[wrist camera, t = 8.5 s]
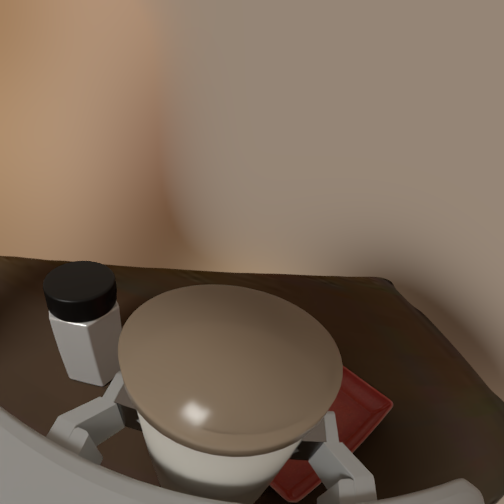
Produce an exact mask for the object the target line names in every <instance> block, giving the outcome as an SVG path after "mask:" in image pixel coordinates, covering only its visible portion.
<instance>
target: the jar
mask: <svg viewBox="0 0 504 504" xmlns="http://www.w3.org/2000/svg"><path fill="white" fill-rule="evenodd" d="M43 290H44V294H45V298H46V303H47V307H48V309H49V319H50V323H51V326H52V330H53V333H54V336H55V339H56V342H57V345H58V348H59V351H60V354H61V357H62V360H63V362H64V365H65V368H66V370H67V373H68V375H69V378H71V379H74V380H78V381H81V382H85V383H89V384H93V385H98V386H102V387H103V386H105V385H106V384H107V383H108V382H109V381H111V380H112V379H113V378H114V377H115V375H116V373H118V372H119V371H120V372H121V369H120V365H119V360H118V343H119V337H120V334H121V331H122V326H121V319H120V310H119V305H118V303H117V300H116V299H117V296H116V293H117V288H116V281H115V276H114V273H113V272H112V270H111V269H110V268H108V267H107V266H105V265H103V264H100V263H97V262H91V261H76V262H70V263H66V264H63V265H61V266H59V267H57V268H55V269H53V270H52V271H51V272H49V273H48V275H47V276H46V277H45V279H44V282H43Z"/></svg>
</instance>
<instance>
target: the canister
mask: <svg viewBox="0 0 504 504" xmlns="http://www.w3.org/2000/svg"><path fill="white" fill-rule="evenodd" d="M118 360H119V365H120V369H121V374H122V378H123V382H124V386H125V390H126V392H127V394H128V396H129V398H130V401H131V402H132V404H133V405H134V407H135V408H136V410H137V413H138V417H139V420H140V424H141V428H142V431H143V435H144V438H145V441H146V445H147V448H148V451H149V454H150V457H151V460H152V463H153V466H154V469H155V472H156V475H157V477H158V480H159V482H160V485H161V487H162V488H165V489H168V490H172V491H176V492H180V493H184V494H188V495H193V496H198V497H202V498H208V499H213V500H219V501H226V502H233V503H241V504H253V503H254V502H255V501H256V500H257V499H258V498H259V497H260V496H261V495H262V493H263V492H264V491H265V490H266V488H267V487H268V486H269V484H270V483H271V482H272V481H273V479H274V478H275V477H276V475H277V474H278V473H279V471H280V470H281V469H282V467H283V466H284V464H285V463H286V462H287V460H288V459H289V457H290V456H291V455H292V453H293V452H294V450H295V449H296V447H297V446H298V444H299V443H300V441H301V440H302V438H304V437H305V436H306V435H308V434H309V433H310V432H311V431H312V430H313V429H314V428H315V427H316V426H317V425H318V424H319V423H320V422H321V420H322V419H323V417H324V416H325V415H326V413H327V411H328V410H329V408H330V407H331V405H332V403H333V402H334V400H335V398H336V396H337V394H338V392H339V389H340V387H341V382H342V378H343V365H342V359H341V355H340V352H339V349H338V347H337V345H336V343H335V341H334V339H333V338H332V337H331V335H330V334H329V332H328V331H327V330H326V329H325V328H324V327H323V326H322V325H321V324H320V323H319V322H318V321H317V320H316V319H315V318H314V317H312V316H311V315H310V314H308V313H307V312H306V311H304V310H303V309H301V308H299V307H298V306H296V305H294V304H292V303H290V302H288V301H286V300H284V299H282V298H279V297H277V296H274V295H271V294H268V293H265V292H262V291H258V290H255V289H250V288H245V287H239V286H231V285H211V284H210V285H195V286H188V287H183V288H178V289H174V290H171V291H168V292H165V293H162V294H160V295H158V296H156V297H154V298H152V299H150V300H148V301H147V302H145V303H144V304H142V305H141V306H140V307H139V308H137V309H136V310H135V311H134V312H133V313H132V315H131V316H130V317H129V318H128V319H127V321H126V323H125V325H124V326H123V328H122V331H121V334H120V337H119V343H118Z"/></svg>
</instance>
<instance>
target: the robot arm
mask: <svg viewBox="0 0 504 504" xmlns="http://www.w3.org/2000/svg"><path fill="white" fill-rule="evenodd" d="M125 426H126V427H129V428H132V429H136V430H139V431H142V428H141V424H140V420H139V417H138V413H137V410H136V408H135V407H134V405H133V404H132V402H131V401H130V398H129V396H128V394H127V392H126V390H125V386H124V382H123V378H122V374H121V372H120V371H119V372H118V373H116V375H115V377H114V378H113V380H112V382H111V384H110V385H109V387H108V389H107V390H106V392H105V394H104V396H103V398H101V397H98V398H96V399H94V400H92V401H90V402H88V403H86V404H84V405H82V406H79V407H77V408H75V409H73V410H71V411H69V412H67V413H65V414H62V415H60V416H59V417H58V418H57V420H56V421H55V423H54V425H53V426H52V428H51V430H50V431H49V433H48V435H47V436H46V437H44V436H43V435H41V434H40V433H38V432H36V431H35V430H33V429H32V428H30V427H29V426H27V425H26V424H24V423H23V422H21V421H20V420H18V419H17V418H16V417H14V416H13V415H11V414H10V413H9V412H7V411H6V410H5V409H3V408H2V407H1V406H0V504H241V503H233V502H226V501H219V500H213V499H208V498H202V497H198V496H193V495H188V494H184V493H180V492H176V491H172V490H168V489H165V488H161V487H158V486H154V485H151V484H148V483H145V482H142V481H139V480H136V479H133V478H130V477H128V476H125V475H122V474H120V473H117V472H114V471H112V470H110V469H107V468H105V467H102V466H100V464H101V461H102V459H103V457H102V455H101V453H100V452H99V450H98V449H97V447H96V446H97V445H99V444H100V443H102V442H103V441H105V440H106V439H108V438H109V437H111V436H112V435H114V434H115V433H117V432H118V431H120V430H121V429H122V428H124V427H125ZM142 432H143V431H142ZM289 459H292V460H309V461H308V462H309V463H310V465H311V466H312V468H313V469H314V471H315V472H316V474H317V475H318V477H319V478H320V480H321V481H322V483H323V484H324V485H325V487H326V488H327V491H326V492H324V493H323V494H322V495H320V496H319V497H318V498H317V504H484V500H483V497H482V494H481V492H480V491H479V490H478V489H477V488H476V487H475V486H473V485H472V484H471V483H470V482H468V481H467V480H465V479H463V478H459V479H455V480H453V481H450V482H447V483H444V484H441V485H438V486H434V487H431V488H428V489H424V490H421V491H417V492H413V493H409V494H405V495H401V496H396V497H391V498H386V499H381V500H377V495H376V488H375V482H374V476H373V475H372V474H371V473H370V472H369V471H368V470H367V468H366V467H365V466H364V465H363V464H362V463H361V462H360V461H359V460H358V459H357V458H356V457H355V456H354V455H353V453H352V452H351V451H350V450H349V449H348V448H347V447H346V446H345V445H344V444H343V442H339V437H338V430H337V423H336V417H335V413H334V411H327V413H326V415H325V416H324V417H323V419H322V420H321V422H320V423H319V424H318V425H317V426H316V427H315V428H314V429H313V430H312V431H311V432H310V433H309V434H308V435H306V436H305V437H304V438H302V440H301V441H300V443H299V444H298V446H297V447H296V449H295V450H294V452H293V453H292V455H291V456H290V457H289Z"/></svg>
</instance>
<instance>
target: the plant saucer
mask: <svg viewBox="0 0 504 504" xmlns="http://www.w3.org/2000/svg"><path fill="white" fill-rule="evenodd" d="M392 407H393V402H392V401H391V400H390V399H389V398H387V397H386V396H384V395H383V394H381V393H380V392H379V391H377V390H376V389H375V388H373V387H372V386H370V385H369V384H368V383H366V382H365V381H363V380H362V379H361V378H359V377H358V376H357V375H355V374H354V373H353V372H351V371H350V370H348V369H347V368H346V367H344V366H343V378H342V382H341V387H340V389H339V392H338V394H337V396H336V398H335V400H334V402H333V403H332V405H331V407H330V408H329V410H328V411H334V413H335V417H336V423H337V430H338V437H339V442H343V444H344V445H345V446H346V447H347V448H348V449H349V450H350V451H351V452H352V453H353V452H354V451H355V450H356V449H357V448H358V447H359V446H360V445H361V444H362V443H363V442H364V440H365V439H366V438H367V437H368V436H369V435H370V434H371V433H372V431H373V430H374V429H375V428H376V427H377V426H378V425H379V423H380V422H381V421H382V420H383V419H384V417H385V416H386V415H387V414H388V412H389V411H390V410H391V409H392ZM308 461H309V460H292V459H288V460H287V462H286V463H285V464H284V466H283V467H282V469H281V470H280V471H279V473H278V474H277V475H276V477H275V478H274V479H273V481H272V482H271V483H270V484H269V485H270V486H271V487H272V488H273V489H274V490H275V491H276V492H277V493H278V494H279V495H280V496H281V497H283V498H284V499H285V500H286V501H288V502H291V503H296V502H299V501H300V500H301V499H303V498H304V497H305V496H306V495H308V494H309V493H310V492H311V491H313V490H314V489H315V488H316V487H317V486H318V485H319V484H321V483H322V481H321V480H320V478H319V477H318V475H317V474H316V472H315V471H314V469H313V468H312V466H311V465H310V463H309V462H308Z"/></svg>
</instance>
